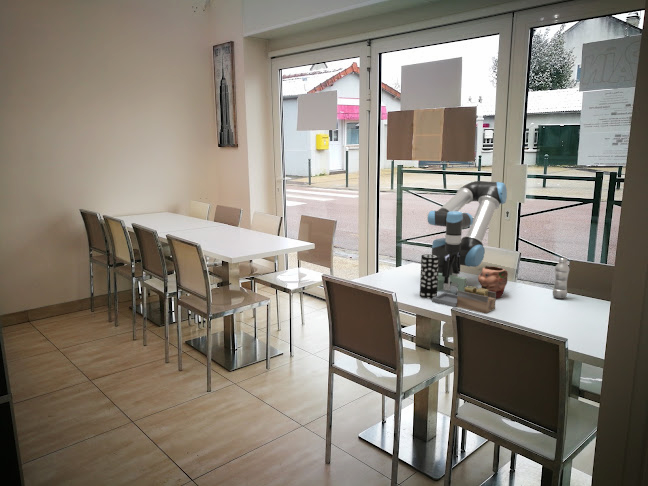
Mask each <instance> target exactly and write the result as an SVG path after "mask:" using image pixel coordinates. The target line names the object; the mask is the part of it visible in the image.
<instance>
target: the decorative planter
mask: <svg viewBox="0 0 648 486" xmlns="http://www.w3.org/2000/svg"><path fill="white" fill-rule="evenodd" d="M508 273H509V272H508V271H507V270H506V269H505V268H502V267H498V266H490V265H489V266H488V265H485V266H484V267H482V271H481V272H480V274H478V276H477V281H478V283H479V284H480V288H483V289H488V291H491V292H496V299H500V298H502V297H503V295H504V291H505V288H506V286H507V284H508Z"/></svg>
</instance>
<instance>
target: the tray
mask: <svg viewBox="0 0 648 486" xmlns="http://www.w3.org/2000/svg"><path fill="white" fill-rule="evenodd" d="M431 301H432V303H435V304H440V305H443V306H449V307H452V308H458V307H457V294H455V293H454V294H453V293H448V292H446V291H445V292H443V293H440V294H437V296H435V297H433V298H432V299H431Z"/></svg>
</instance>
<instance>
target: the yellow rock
mask: <svg viewBox="0 0 648 486" xmlns="http://www.w3.org/2000/svg"><path fill="white" fill-rule="evenodd" d="M476 294H478V295H482V296H487V297H488V289H483V288H481V287H479V288H477V290H476Z"/></svg>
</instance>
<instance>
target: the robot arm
mask: <svg viewBox="0 0 648 486" xmlns="http://www.w3.org/2000/svg"><path fill="white" fill-rule="evenodd" d="M507 191H508V190H507V186H506V184H505V183H504V182H500V181H484V180H476V181H475V180H474V181H471V182H469V183H467V184H465V185H463V186H461V187H460V188H458V190H457V191H456V194H454V196H452V197H451V198H450V199H449V200H448V201H446V202H445V204H443V205H442V206H441V207H440V208H438V210H430V211H429V212H428V214H427V222H428V224H429V225H431V226H435V227H436V226H438V227H444V228H445V237H442V238H435V239H434V240H433V241H432V244H431V246H432V247H431V254H432V255H437V256H439V269H438V273H442V276H443V277H445V278H444V289H443V290H445V291H450V290H451V289H450V286H451V287H455V288H458V283H455V282H450V277H449V276H450V275H453V276H458V277H459V275H460V274H461V266H465V267H469V268H470V267H472V268H474V267H475V268H476V267H478V266H480V264H481V263H482V262H483V260H484V258H485V255H486V254H485V246H484V244H483V240H484V238H485V235H486V232H487V229H488V227H489V225H490V222H491V221H492V217H493V214H494V212H495V210H497V209H499V207H500V205H503V204H505V203H506V202H507V199H508V197H507V195H508V192H507ZM471 202H478V207H477V209H476V212H475V214H474V215H471V214H470V213H469V212H461V211H460V210H461V209H463V207H465V206H466V205H468V204H470V203H471ZM468 228H469V229H468ZM464 229H468V231H467V233H466V236H462V230H464Z"/></svg>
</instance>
